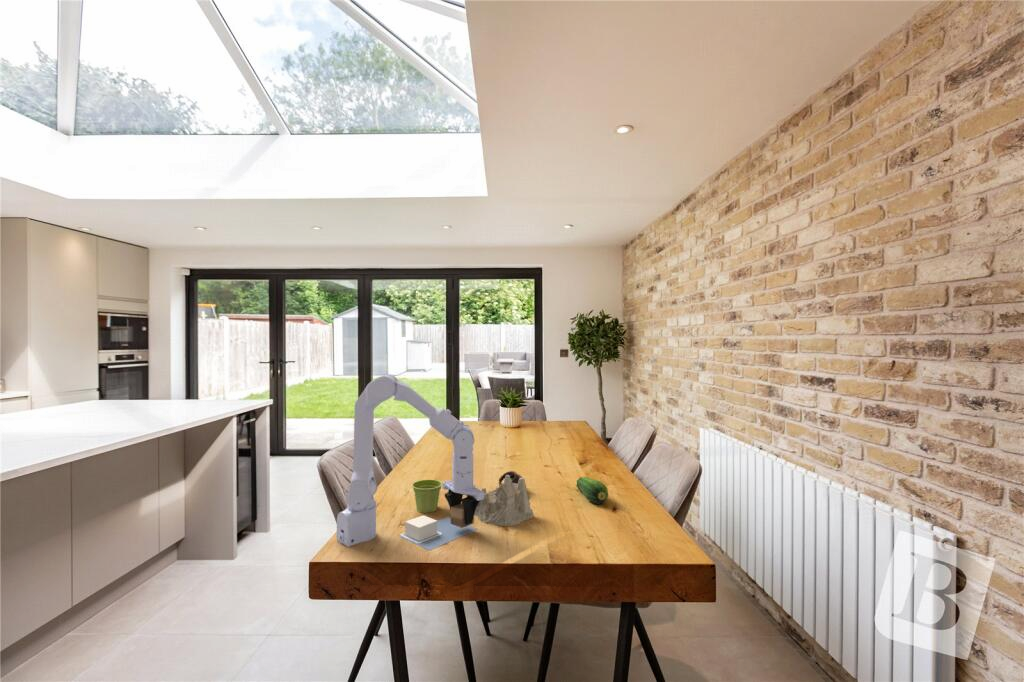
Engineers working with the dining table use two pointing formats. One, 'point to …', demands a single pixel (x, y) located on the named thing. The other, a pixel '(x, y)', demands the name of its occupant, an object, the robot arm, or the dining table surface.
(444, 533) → the board
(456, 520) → the walnut block
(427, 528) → the cream base block
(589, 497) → the vegetable
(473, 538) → the dining table surface
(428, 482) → the plant pot
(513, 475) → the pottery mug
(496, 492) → the jagged grey rock
